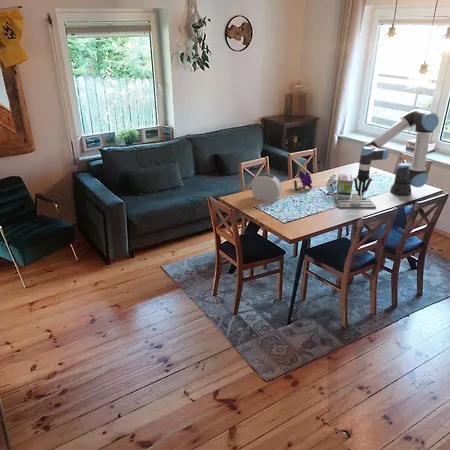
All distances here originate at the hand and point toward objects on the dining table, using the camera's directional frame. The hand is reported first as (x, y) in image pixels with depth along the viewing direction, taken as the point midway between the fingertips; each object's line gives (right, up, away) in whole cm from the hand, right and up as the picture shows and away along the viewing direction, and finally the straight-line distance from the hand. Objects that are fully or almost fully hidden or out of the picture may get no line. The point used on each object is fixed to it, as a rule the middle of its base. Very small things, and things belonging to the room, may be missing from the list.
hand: (359, 200), depth 306 cm
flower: (-37, +10, +30) cm, 48 cm away
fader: (-4, -2, +1) cm, 4 cm away
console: (-3, -3, +2) cm, 5 cm away
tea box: (-7, +4, +18) cm, 20 cm away
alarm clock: (-67, +1, +13) cm, 68 cm away
